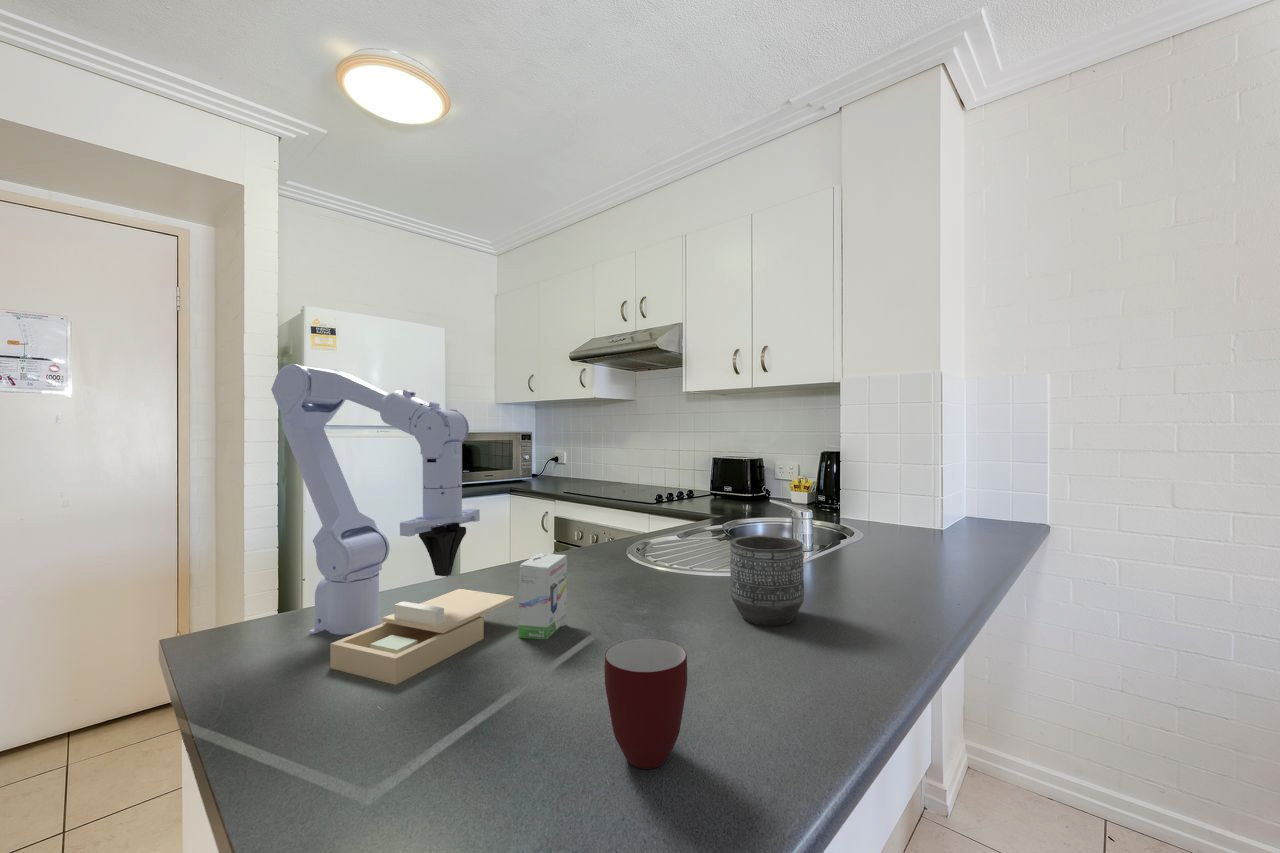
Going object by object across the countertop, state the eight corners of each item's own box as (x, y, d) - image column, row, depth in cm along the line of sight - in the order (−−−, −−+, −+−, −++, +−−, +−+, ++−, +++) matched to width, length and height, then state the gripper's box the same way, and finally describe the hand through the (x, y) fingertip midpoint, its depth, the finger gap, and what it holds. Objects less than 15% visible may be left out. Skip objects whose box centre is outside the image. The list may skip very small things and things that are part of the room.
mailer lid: (382, 621, 78) (382, 603, 78) (459, 592, 92) (459, 577, 92) (442, 633, 73) (442, 614, 73) (513, 600, 88) (513, 584, 88)
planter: (812, 612, 93) (811, 539, 93) (792, 635, 82) (790, 553, 82) (746, 601, 99) (745, 532, 99) (719, 621, 89) (718, 544, 89)
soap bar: (370, 662, 72) (370, 643, 72) (391, 652, 76) (391, 634, 76) (397, 668, 70) (396, 649, 70) (418, 658, 73) (417, 640, 74)
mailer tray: (330, 673, 71) (330, 643, 71) (424, 632, 85) (424, 607, 85) (395, 691, 66) (395, 658, 66) (483, 643, 80) (483, 617, 80)
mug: (592, 728, 57) (591, 635, 57) (663, 716, 59) (662, 626, 60) (617, 792, 47) (616, 678, 47) (701, 773, 49) (700, 665, 49)
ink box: (538, 623, 89) (538, 552, 89) (568, 625, 88) (567, 553, 88) (516, 643, 81) (516, 564, 81) (549, 645, 80) (548, 566, 80)
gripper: (425, 492, 74) (425, 590, 74) (494, 483, 88) (494, 566, 87) (389, 491, 77) (389, 585, 77) (460, 482, 91) (461, 562, 90)
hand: (443, 574), depth 83 cm, fingers closed
